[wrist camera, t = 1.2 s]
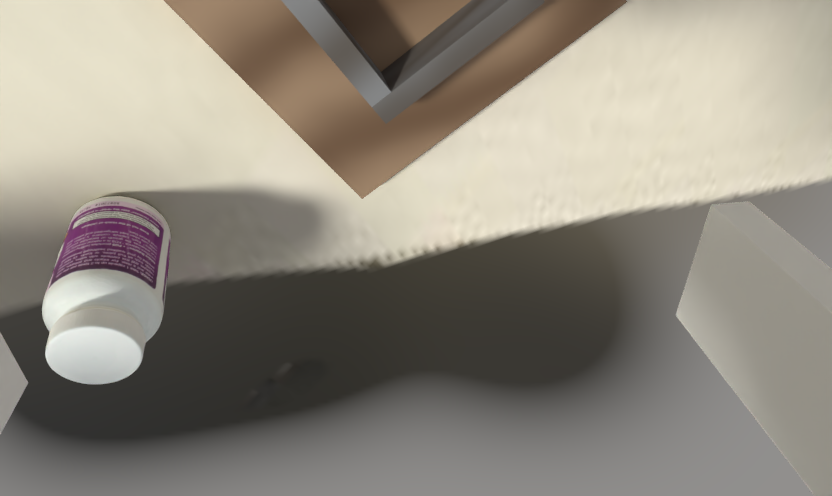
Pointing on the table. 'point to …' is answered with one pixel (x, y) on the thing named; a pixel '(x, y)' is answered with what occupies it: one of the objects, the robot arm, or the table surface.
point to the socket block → (385, 66)
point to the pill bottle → (106, 290)
